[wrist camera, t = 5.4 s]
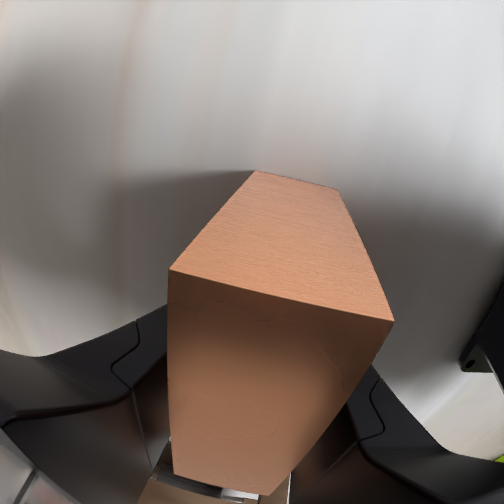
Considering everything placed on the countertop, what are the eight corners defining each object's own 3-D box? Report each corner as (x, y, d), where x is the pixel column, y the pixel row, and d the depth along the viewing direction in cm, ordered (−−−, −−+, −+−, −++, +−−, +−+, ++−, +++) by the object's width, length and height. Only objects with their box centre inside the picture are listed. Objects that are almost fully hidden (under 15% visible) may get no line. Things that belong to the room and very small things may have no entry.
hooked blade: (336, 189, 8) (394, 320, 3) (229, 486, 19) (214, 545, 13) (154, 153, 9) (-8, 215, 3) (164, 468, 19) (142, 524, 14)
